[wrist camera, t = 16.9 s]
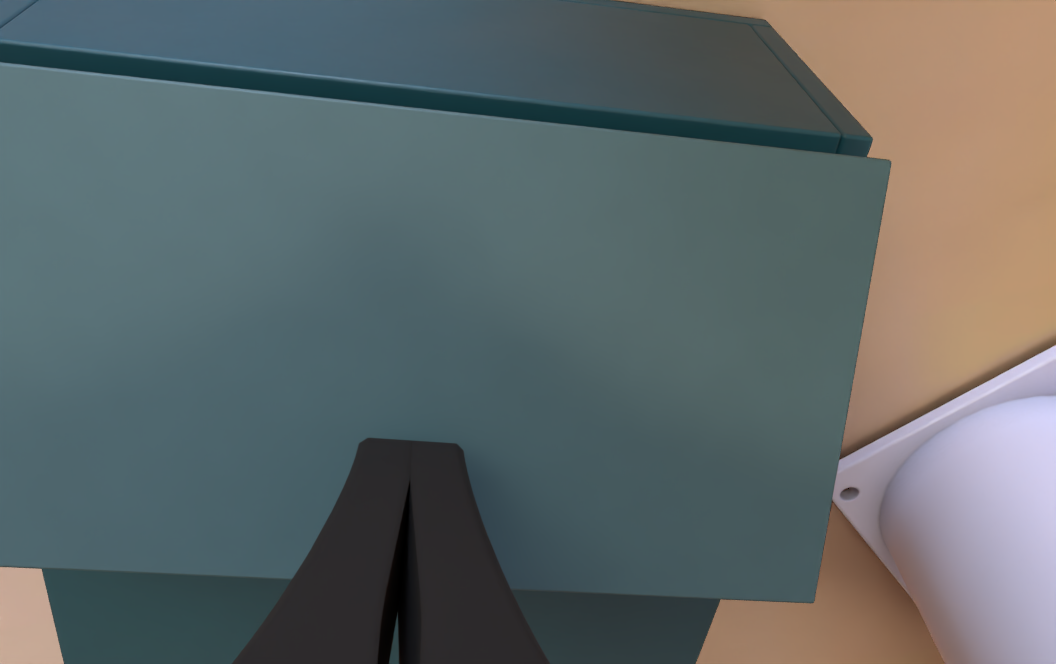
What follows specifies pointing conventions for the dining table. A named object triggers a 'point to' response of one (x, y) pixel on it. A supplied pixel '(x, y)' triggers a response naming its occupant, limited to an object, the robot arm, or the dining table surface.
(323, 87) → the teal box
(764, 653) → the dining table surface
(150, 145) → the cool box flap
